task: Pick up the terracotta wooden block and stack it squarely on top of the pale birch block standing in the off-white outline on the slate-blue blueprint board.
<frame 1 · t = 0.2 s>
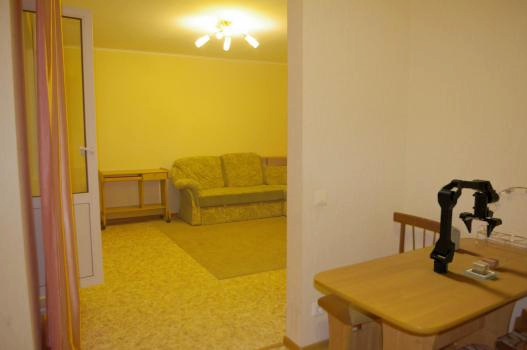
hand: (478, 235, 194), 14 cm above the table, fingers open, 9 cm apart
top block: (490, 269, 187), on the table
blueprint board: (480, 275, 179), on the table
base block: (480, 273, 179), point 1 cm above the table, touching blueprint board
can: (452, 249, 217), on the table
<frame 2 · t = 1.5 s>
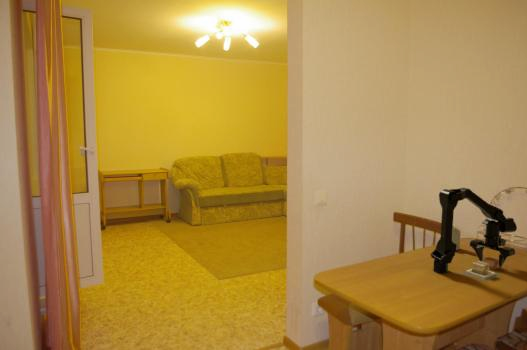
hand: (490, 264, 186), 2 cm above the table, fingers open, 9 cm apart
nothing on the table moved.
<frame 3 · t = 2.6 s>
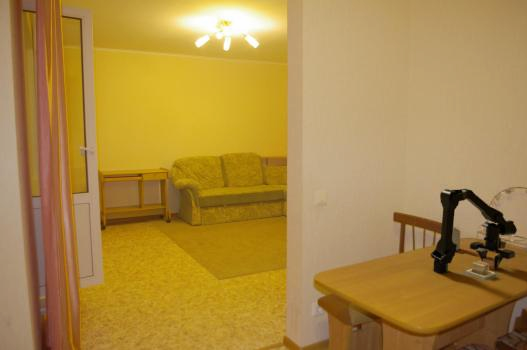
hand: (490, 267, 186), 1 cm above the table, fingers closed on top block, 5 cm apart
top block: (490, 269, 187), on the table, touching gripper
everything else where it was.
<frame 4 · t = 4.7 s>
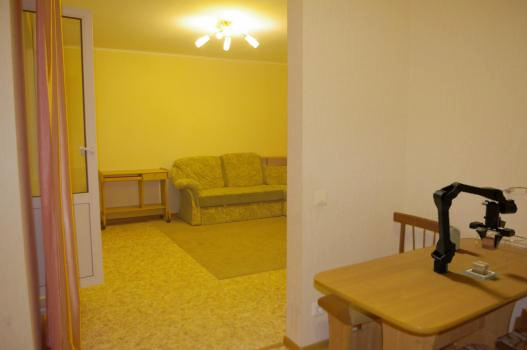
hand: (490, 246, 184), 12 cm above the table, fingers closed on top block, 5 cm apart
top block: (490, 248, 184), point 11 cm above the table, touching gripper
everything else where it was.
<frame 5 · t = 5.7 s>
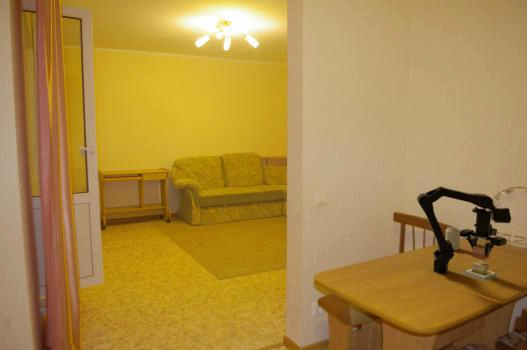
hand: (481, 255, 177), 10 cm above the table, fingers closed on top block, 5 cm apart
top block: (480, 257, 178), point 9 cm above the table, touching gripper
everything else where it was.
when the fingers open (8 cm above the table, at t = 6.7 s): top block drops 1 cm, resting on base block.
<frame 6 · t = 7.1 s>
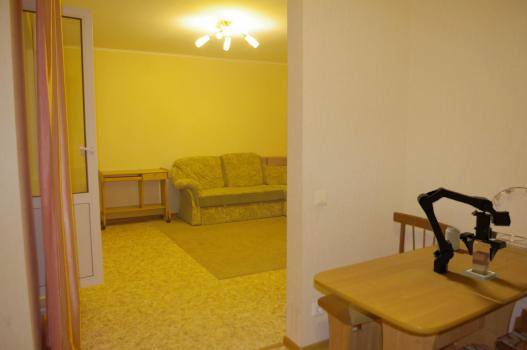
hand: (481, 258, 178), 8 cm above the table, fingers open, 9 cm apart
top block: (480, 263, 178), point 6 cm above the table, touching base block
base block: (480, 273, 179), point 1 cm above the table, touching blueprint board, top block
everything else where it was.
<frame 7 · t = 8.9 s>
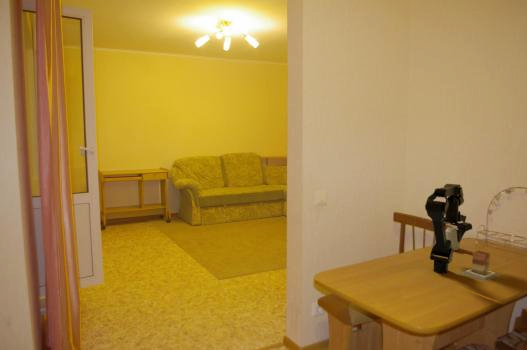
hand: (450, 239, 192), 13 cm above the table, fingers open, 9 cm apart
nothing on the table moved.
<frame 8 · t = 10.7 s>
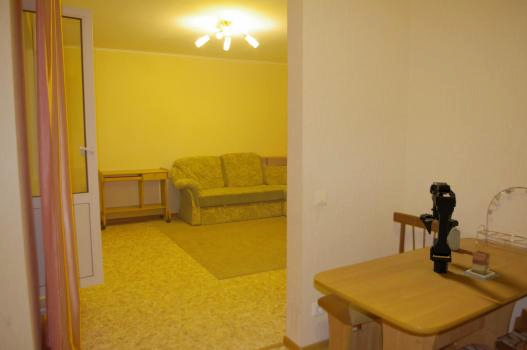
hand: (437, 236, 199), 12 cm above the table, fingers open, 9 cm apart
nothing on the table moved.
at the end: top block 0.0 cm off-centre on the base block, point 5.0 cm above the base block's base; base block 0.0 cm off-centre on the blueprint board, point 1.0 cm above the blueprint board's base; top block tilted 0° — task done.
